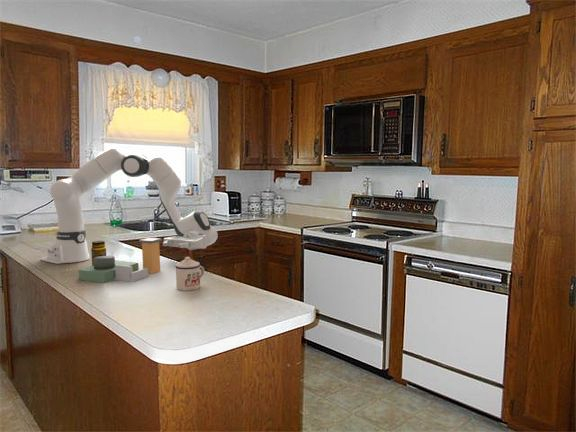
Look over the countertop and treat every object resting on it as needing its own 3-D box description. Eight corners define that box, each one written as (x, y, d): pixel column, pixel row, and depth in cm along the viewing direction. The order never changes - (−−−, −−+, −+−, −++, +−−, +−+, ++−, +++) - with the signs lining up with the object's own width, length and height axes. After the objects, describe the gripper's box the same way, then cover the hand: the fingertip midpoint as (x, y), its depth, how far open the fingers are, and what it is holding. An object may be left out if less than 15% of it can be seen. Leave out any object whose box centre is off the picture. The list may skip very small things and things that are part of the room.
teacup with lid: (186, 292, 161) (185, 261, 160) (170, 288, 167) (169, 257, 165) (211, 285, 170) (211, 255, 169) (196, 281, 176) (195, 252, 174)
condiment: (109, 268, 197) (108, 242, 196) (88, 271, 193) (87, 243, 191) (105, 265, 203) (104, 239, 202) (85, 268, 199) (84, 241, 197)
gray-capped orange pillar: (140, 272, 191) (139, 240, 189) (150, 269, 197) (149, 237, 195) (152, 273, 188) (151, 241, 186) (162, 270, 194) (161, 238, 192)
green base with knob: (78, 279, 179) (77, 259, 179) (114, 269, 197) (113, 251, 196) (121, 285, 170) (120, 264, 170) (155, 274, 188) (154, 255, 187)
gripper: (175, 232, 218) (154, 236, 206) (208, 235, 209) (188, 239, 197) (176, 245, 219) (155, 250, 207) (209, 248, 209) (189, 254, 197)
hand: (171, 245), depth 202 cm, fingers open, 8 cm apart
